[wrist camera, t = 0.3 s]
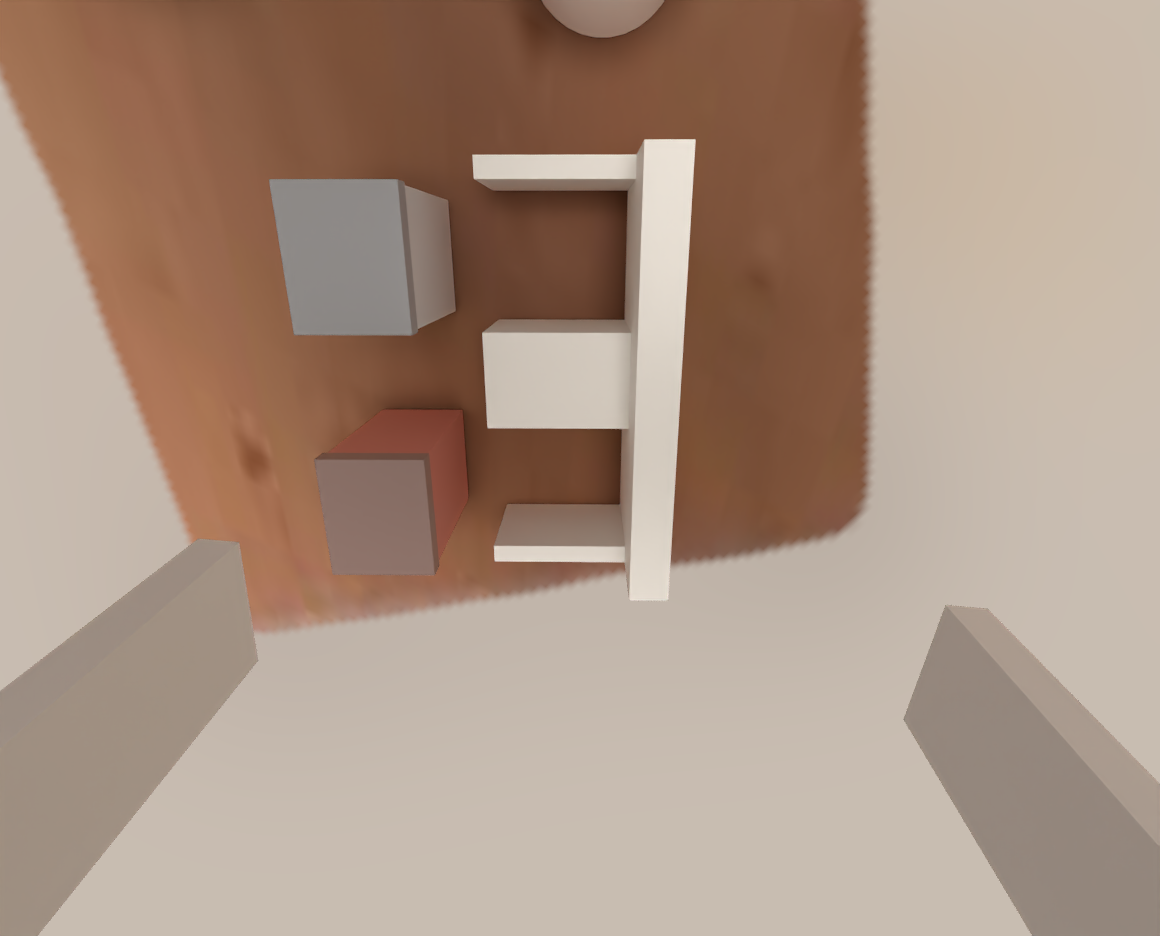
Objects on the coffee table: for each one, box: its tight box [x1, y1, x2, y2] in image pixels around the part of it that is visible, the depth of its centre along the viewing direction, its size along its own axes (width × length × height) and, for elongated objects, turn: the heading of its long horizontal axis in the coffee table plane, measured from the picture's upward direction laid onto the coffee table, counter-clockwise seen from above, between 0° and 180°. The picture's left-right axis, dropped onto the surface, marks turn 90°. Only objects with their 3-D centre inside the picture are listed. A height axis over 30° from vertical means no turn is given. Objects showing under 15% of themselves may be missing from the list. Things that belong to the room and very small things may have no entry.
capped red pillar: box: [314, 409, 469, 575], centre depth 34 cm, size 6×5×10 cm
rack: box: [472, 139, 695, 601], centre depth 32 cm, size 21×10×10 cm, turn 0°
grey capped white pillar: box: [269, 179, 456, 335], centre depth 30 cm, size 6×5×10 cm
